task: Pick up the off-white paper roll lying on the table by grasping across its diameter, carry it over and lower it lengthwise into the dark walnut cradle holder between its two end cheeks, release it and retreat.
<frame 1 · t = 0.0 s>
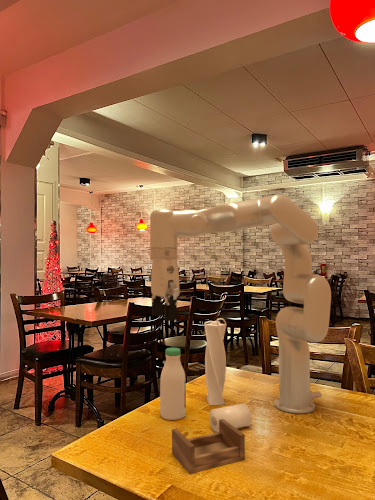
hand: (163, 317, 106), 31 cm above the table, fingers open, 9 cm apart
milk bottle: (172, 416, 118), on the table
roll: (230, 428, 109), on the table
skyscraper: (215, 402, 129), on the table
cradle: (207, 456, 93), on the table
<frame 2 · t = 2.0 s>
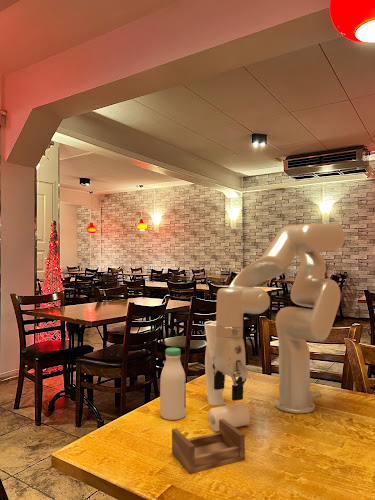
hand: (227, 394, 109), 10 cm above the table, fingers open, 9 cm apart
roll: (230, 428, 109), on the table, tilted 15°
everything else where it was.
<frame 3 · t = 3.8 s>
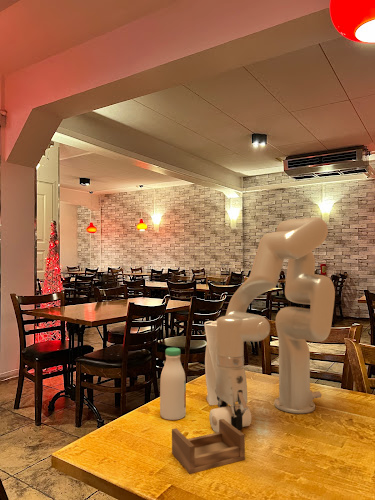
hand: (230, 425, 109), 1 cm above the table, fingers closed on roll, 6 cm apart
roll: (230, 428, 109), on the table, touching gripper
everything else where it was.
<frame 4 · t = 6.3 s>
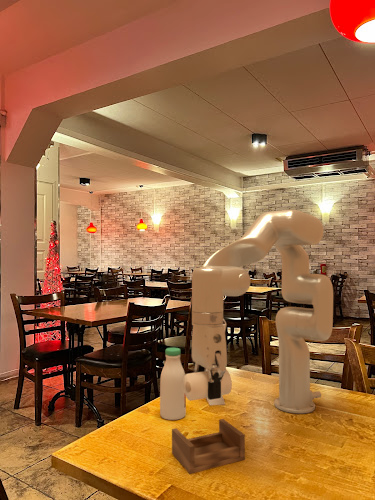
hand: (207, 393, 94), 15 cm above the table, fingers closed on roll, 6 cm apart
roll: (207, 396, 94), point 14 cm above the table, touching gripper
everything else where it was.
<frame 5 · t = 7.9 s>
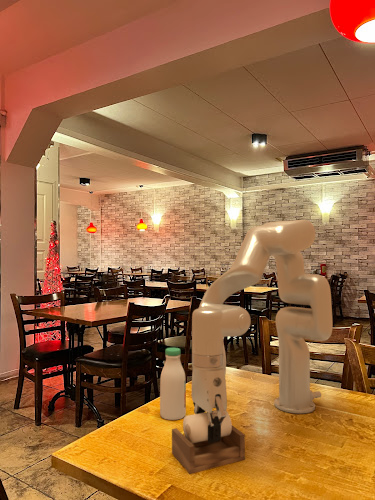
hand: (207, 435, 93), 5 cm above the table, fingers closed on roll, 6 cm apart
roll: (207, 438, 93), point 4 cm above the table, touching gripper
everything else where it was.
when the fingers open (4 cm above the table, at t = 9.0 s): roll drops 2 cm, resting on cradle.
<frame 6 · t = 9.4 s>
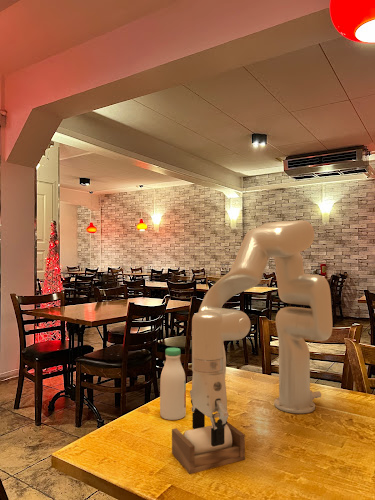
hand: (207, 436, 94), 5 cm above the table, fingers open, 9 cm apart
roll: (207, 452, 93), point 1 cm above the table, touching cradle
everything else where it was.
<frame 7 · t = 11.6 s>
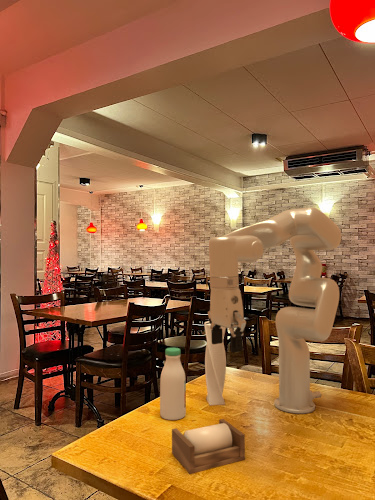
hand: (226, 347, 104), 24 cm above the table, fingers open, 9 cm apart
nothing on the table moved.
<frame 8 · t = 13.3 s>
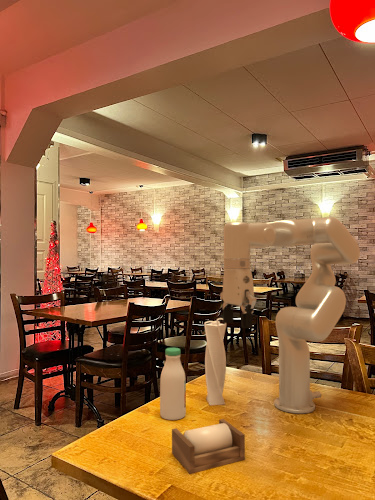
hand: (237, 325, 112), 28 cm above the table, fingers open, 9 cm apart
nothing on the table moved.
at the end: roll 0.0 cm off-centre on the cradle, point 0.8 cm above the cradle's base; the gripper is holding nothing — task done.
